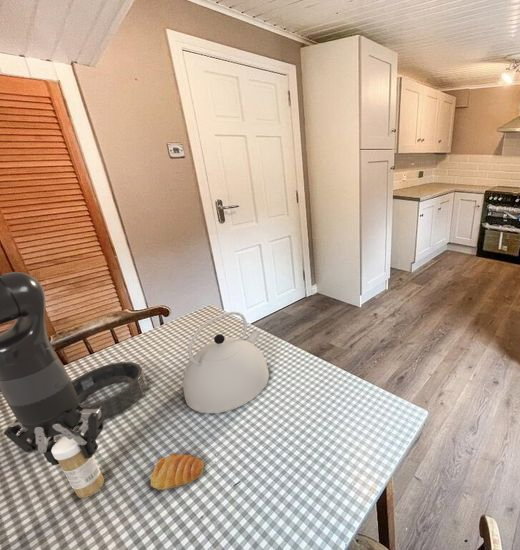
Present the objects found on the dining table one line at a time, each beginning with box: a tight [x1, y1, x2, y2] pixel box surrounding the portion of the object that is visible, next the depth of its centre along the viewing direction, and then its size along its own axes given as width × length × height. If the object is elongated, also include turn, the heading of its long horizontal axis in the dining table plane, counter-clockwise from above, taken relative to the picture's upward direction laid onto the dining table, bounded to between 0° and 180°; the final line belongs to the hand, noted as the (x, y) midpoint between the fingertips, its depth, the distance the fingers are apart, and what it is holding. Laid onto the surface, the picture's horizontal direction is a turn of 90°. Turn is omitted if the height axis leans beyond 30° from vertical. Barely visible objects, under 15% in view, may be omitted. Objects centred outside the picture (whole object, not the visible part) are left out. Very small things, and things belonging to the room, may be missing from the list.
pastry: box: [150, 453, 205, 491], centre depth 63 cm, size 9×7×4 cm
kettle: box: [182, 311, 270, 414], centre depth 86 cm, size 25×23×22 cm
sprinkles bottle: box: [51, 432, 105, 499], centre depth 59 cm, size 5×5×13 cm
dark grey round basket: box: [71, 361, 148, 425], centre depth 82 cm, size 18×18×6 cm
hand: (75, 457), depth 58 cm, fingers closed on sprinkles bottle, 4 cm apart
